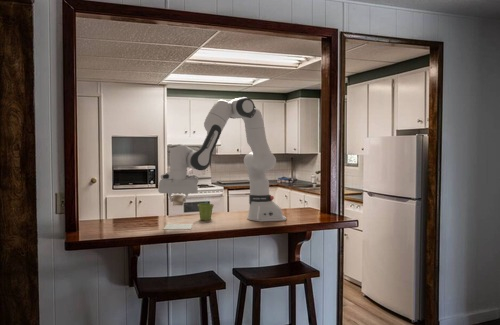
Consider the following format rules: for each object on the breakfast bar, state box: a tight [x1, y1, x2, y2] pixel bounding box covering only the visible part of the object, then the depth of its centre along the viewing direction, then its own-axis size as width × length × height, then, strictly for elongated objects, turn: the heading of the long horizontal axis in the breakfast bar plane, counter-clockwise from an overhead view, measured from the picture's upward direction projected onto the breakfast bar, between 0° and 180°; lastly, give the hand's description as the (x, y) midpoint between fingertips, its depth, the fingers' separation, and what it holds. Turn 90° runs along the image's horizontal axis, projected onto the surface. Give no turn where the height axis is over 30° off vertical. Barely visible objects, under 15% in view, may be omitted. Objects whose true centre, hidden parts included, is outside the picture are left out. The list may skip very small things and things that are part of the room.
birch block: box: [172, 194, 185, 207], centre depth 222 cm, size 5×5×5 cm
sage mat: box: [163, 223, 194, 230], centre depth 222 cm, size 14×14×1 cm
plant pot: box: [197, 203, 215, 221], centre depth 244 cm, size 9×9×9 cm
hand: (178, 201), depth 222 cm, fingers closed on birch block, 5 cm apart
